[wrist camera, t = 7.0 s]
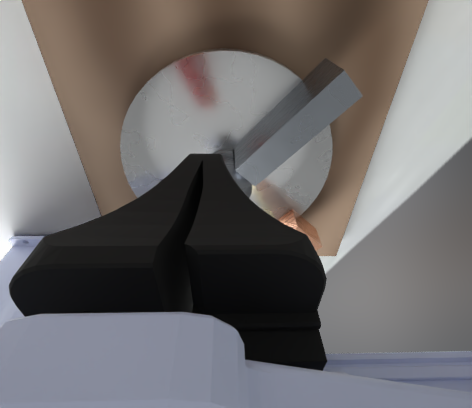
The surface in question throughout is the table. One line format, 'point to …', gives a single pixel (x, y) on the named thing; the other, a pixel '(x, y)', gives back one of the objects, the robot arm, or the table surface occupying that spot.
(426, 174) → the table surface
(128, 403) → the robot arm
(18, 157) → the table surface
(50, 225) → the table surface
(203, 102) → the flange plate
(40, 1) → the base board
